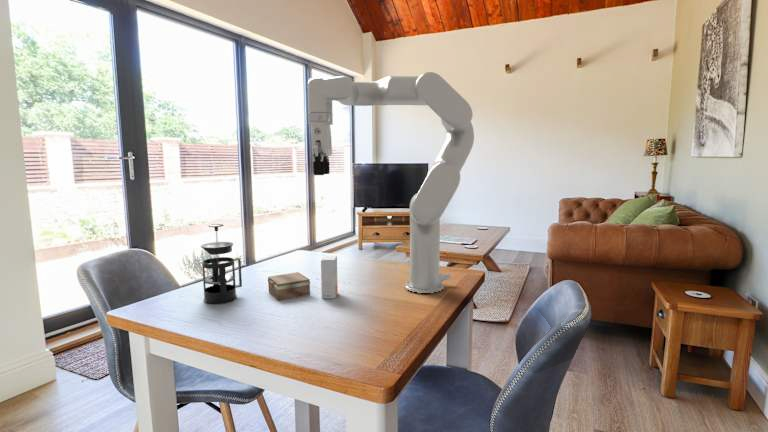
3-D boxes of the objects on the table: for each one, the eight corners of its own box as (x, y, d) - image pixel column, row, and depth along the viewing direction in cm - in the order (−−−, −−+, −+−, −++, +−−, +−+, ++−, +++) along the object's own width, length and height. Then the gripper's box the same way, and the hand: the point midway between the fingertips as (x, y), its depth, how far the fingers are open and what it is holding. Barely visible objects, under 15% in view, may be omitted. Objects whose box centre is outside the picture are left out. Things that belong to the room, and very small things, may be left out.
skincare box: (335, 298, 129) (334, 260, 127) (321, 298, 129) (320, 260, 127) (338, 292, 135) (337, 255, 133) (324, 292, 135) (323, 255, 134)
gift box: (298, 286, 141) (298, 272, 141) (310, 294, 133) (309, 279, 132) (266, 292, 136) (265, 276, 135) (276, 301, 127) (275, 284, 127)
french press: (205, 306, 123) (200, 228, 120) (198, 298, 130) (193, 224, 127) (246, 299, 129) (242, 224, 126) (237, 291, 137) (233, 220, 134)
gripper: (327, 116, 124) (329, 175, 127) (336, 121, 141) (337, 173, 144) (302, 116, 125) (304, 175, 127) (314, 122, 142) (315, 173, 144)
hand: (321, 174), depth 135 cm, fingers open, 9 cm apart
